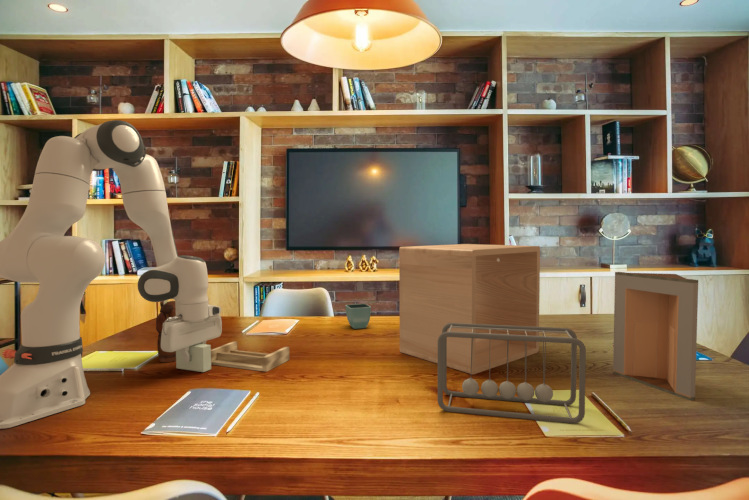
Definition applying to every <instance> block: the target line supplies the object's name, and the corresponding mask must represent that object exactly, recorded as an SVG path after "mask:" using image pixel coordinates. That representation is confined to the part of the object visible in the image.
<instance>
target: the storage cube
mask: <svg viewBox="0 0 749 500" xmlns="http://www.w3.org/2000/svg"><path fill="white" fill-rule="evenodd" d="M398 250H399V253H398V254H399V256H398V258H399V264H398V265H399V271H398V273H399V352H400V353H402V354H404V355H409V356H411V357H414V358H418V359H421V360H425V361H427V362H431V363H433V364H437V365H438V338H439V336H440V335H441V334H442V329H443V327H444V326H445V325H446V324H448V323H467V324H489V325H510V326H532V327H540V291H541V290H540V288H541V287H540V285H541V284H540V283H541V281H540V280H541V279H540V278H541V277H540V276H541V275H540V274H541V272H540V270H541V267H540V266H541V247H540V245H519V244H517V245H515V244H514V245H511V244H506V245H505V244H478V243H474V244H473V243H459V244H457V243H456V244H455V243H454V244H438V245H434V244H432V245H415V246H414V245H412V246H400V247H399V249H398ZM449 329H450V328H449ZM449 329H448V330H447V332H448V331H449ZM451 332H470V333H472V329H468V328H451ZM473 333H490V334H507V330H488V329H473ZM508 334H509V335H525V331H508ZM526 334H527V335H529V336H540V332H529V331H526ZM471 341H472V338H459V337H447V368H450V369H453V370H457V371H460V372H463V373H466V374H469V375H471V376H472V375H476V374H479V373H483V372H485V371H489V353H490V370H491V369H494V368H496V367H499V366H502V365H505V364H507V340H496V339H478V338H473V346H472V371H471ZM539 350H540V342H533V341H527V357H528V356H531V355H534V354H537V353H539V352H540V351H539ZM523 358H525V341H515V340H509V348H508V363H511V362H514V361H517V360H520V359H523Z"/></svg>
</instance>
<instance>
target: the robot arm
mask: <svg viewBox="0 0 749 500" xmlns="http://www.w3.org/2000/svg"><path fill="white" fill-rule="evenodd" d="M36 163H37V164H36V167H35V171H34V175H33V176H34V177H33V182H32V187H31V189H30V195H29V199H28V203H27V206H26V208H25V211H24V212H23V214H22V216H21V218H20V220H19V221H18V222H17V224H16V225H15V227H14V228H13V229H12V230H11V231H10V232H9V234H8V235H7V236H6V237H5V238H3V239H1V240H0V278H2V279H6V280H8V281H13V282H16V283H17V282H18V283H25V284H26V283H32V284H34V283H35V284H36V283H37V284H39V285H38V290H37V293H36V296H35V297H34V300H33V301H32V302H30V303H28V304H27V305H26V306H25V307H24V308H23V309H22V310H21V314H20V324H21V325H20V327H21V328H20V329H21V344H20V345H19V348H18V349H17V350H16V349H10V348H6V349H4V350H3V351H2V354H1V355H2V357H4V359H9V360H11V359H14V361H13V364H12V365H11V366H9V367H8V368H7V369H6V370H5V371H4V372H3V373H1V374H0V429H9V428H13V427H16V426H19V425H22V424H27V423H28V422H33V421H35V420H38V419H42V418H45V417H48V416H51V415H55V414H57V413H61V412H64V411H68V410H71V409H73V408H77V407H80V406H83V405H85V404H86V400H87V398H88V397H89V396H90V395H91V390H90V389H89V387H88V384H87V380H86V377H85V372H84V366H83V360H82V357H83V351H84V349H83V348H84V347H83V338H82V337H81V333H80V330H81V328H80V327H81V326H80V316H81V315H80V314H81V313H80V311H81V303H82V300H83V297H84V295H85V291H86V289H88V286H89V285H90V284H91V283H92V282H93V281H94V280H95V279H96V278H98V277H99V276H100V275H101V273H102V271H104V268H105V263H106V256H105V251H104V249H103V248H102V246H101V245H100V243H98V242H97V241H96V240H93V239H89V238H85V237H79V236H75V235H74V236H73V235H66V232H67V231H68V230H69V229H70V228H71V227H72V226H73V225H74V224H76V223H78V222H79V221H81V219H82V218H83V217H84V216H85V213H86V210H87V209H86V208H87V202H88V196H89V191H90V184H91V179H92V178H91V176H92V173H93V172H99V171H101V172H102V171H104V170H105V171H106V169H112V171H113V172H114V173H115V175H116V176H117V178H118V180H119V184H120V191H121V197H122V198H121V200H122V203H123V207H124V210H125V212H126V216H127V217H128V219H129V220H130V221H131V222H132V223H133V224H136V225H137V226H138V227H140V229H142V230H143V231H144V232H145V233H146V234H147V236H148V237H149V239H150V242H151V246H152V251H153V254H154V259H155V263H156V267H154V268H151V269H148V270H146V271H145V272H143V273H142V274H141V275H140V276H139V278H138V281H137V291H138V294H139V295H140V296H141V297H142V298H143V299H144V300H145V301H147V302H151V303H161V302H164V301H168V300H173V301H175V306H176V316H174V317H169V318H167V320H165V322H164V323H163V329H162V334H161V349H162V350H163V351H165V352H174V351H177V350H180V352H181V354H182V355H183V361H184V362H190V361H192V355H189V353H188V350H189V346H192V345H196V344H206V345H207V341H211V340H214V339H217V338H220V337H221V334H222V333H223V331H222V330H223V328H222V327H223V323H222V322H223V321H222V317H221V313H222V307H221V306H217V305H214V304H209V303H210V302H209V296H208V288H209V277H208V276H209V275H208V268H207V264H206V261H205V260H204V259H203V258H202V257H199V256H196V255H195V256H193V255H185V254H183V255H179V254H178V249H177V246H176V241H175V236H174V231H173V229H172V224H171V219H170V213H169V212H170V211H169V207H168V206H169V205H168V199H167V198H168V197H167V193H166V187H165V183H164V182H165V181H164V179H163V178H164V177H163V175H162V171H161V169H160V166H159V164H158V161H157V159H155V158H154V157H153V156H151V155H149V154H147V148H146V145H145V144H144V141H143V138H142V136H141V134H140V133H139V131H138V130H137V128H136V127H135V126H134V125H133V124H131V123H130V122H128V121H126V120H121V119H119V120H118V119H115V120H106V121H105V122H103V123H100V124H97V125H93V126H91V127H89V128H87V129H86V130H84V131H83V132H80V133H79V134H77V135H75V137H71V136H66V135H59V136H54V137H51V138H49V139H48V140H47V141H46V142H45V144H44V146H43V149H42V151H41V152H40V155H39V158H38V161H37V162H36ZM167 321H168V322H167Z"/></svg>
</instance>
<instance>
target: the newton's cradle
mask: <svg viewBox="0 0 749 500" xmlns="http://www.w3.org/2000/svg"><path fill="white" fill-rule="evenodd" d="M449 328H450V329H449ZM451 328H468V329H472V333H470V332H451ZM448 329H449V331H448V332H447V330H448ZM473 329H488V330H507V334H490V333H473ZM508 331H525V335H509V334H508ZM526 331H529V332H539V333H542V335H539V336H529V335H527V334H526ZM545 333H554V334H567V336H568V337H567V336H566V337H565V336H546V334H545ZM447 337H459V338H472V341H471V371H472V346H473V338H478V339H496V340H507V363H506V381H502V382H501V383H500V384H499V386H498V384H497V383H496V381H494V380H492V379H491V369H490V353H489V369H488V371H489V373H488V375H489V377H488V379H486V380H484V381H483V382H482V384H481V386H479V383H478V381H477V380H476V379H474V378H472V374H469V376H470V377H469V378H467V379H464V381H463V382H462V385H461V388H462V391H455V390H454V391H452V390H449V389H448V386H447V385H448V384H447V383H448V382H447V368H448V367H447ZM509 340H515V341H525V357H524V382H522V383H519V384H518V385H517V387H516V386H515V384H514V383H513V382H511V381H509V362H508V348H509ZM527 341H533V342H539V343H542V361H543V362H542V367H543V370H542V372H543V373H542V375H543V376H542V377H543V383H541V384H538V385H537V386H536V387H535V388H534V387H533V385H532V384H530V383H528V382H527V368H528V367H527V361H528V360H527V359H528V356H527ZM547 343H554V344H571V345H570V348H571V352H570V397H569V398H568V399H567V400H561V399H553V397H554V391H553V389H552V388H551V386H550V385H548V384H546V382H545V381H546V365H545V361H546V360H547V359H546V354H547V353H546V352H547ZM577 347H578V348H579V365H578V366H579V368H578V366H577V363H578V362H577V359H578V358H577V357H578V356H577V355H578V351H577V349H578V348H577ZM586 353H587V349H586V345H585V343H584V342H583V341H582V340H580V339H578V337H577V334H576V332H575V331H574V330H573V329H571V328H568V327H554V326H553V327H552V326H551V327H550V326H539V327H532V326H510V325H489V324H467V323H448V324H446V325H445V326H444V327H443V329H442V334H441V335H440V336H439V338H438V364H437V404H438V406H439V408H440V409H442V410H443V411H444V412H448V413H459V414H466V415H467V414H469V415H470V414H471V415H479V416H490V417H500V418H511V419H522V420H534V421H540V422H541V421H542V422H551V423H563V424H572V425H573V424H574V425H575V424H578V423H580V422H582V421H583V420H584V418H585V414H586V412H585V411H586V369H587V367H586V364H587V363H586V362H587V361H586V360H587V359H586V357H587V354H586ZM577 368H578V369H579V373H578V374H579V376H578V377H579V379H578V382H579V383H578V414H577V416H575V417H572V415H571V413H570V410H569V408H568V407H570V406H571V405H573V403H575V401H576V399H577ZM480 388H481V389H480ZM479 390H481V393H479ZM498 392H499V394H498ZM443 393H444V394H446V395H447V396H449V399H448V405H446V404H445V403H444V399H443V398H444V397H443V396H444V395H443ZM516 394H517V396H516ZM452 397H458V398H459V397H460V398H472V399H481V400H492V401H504V402H505V401H506V402H516V403H518V402H519V403H525V404H526V403H527V404H528V403H530V404H538V405H539V404H540V405H552V406H560V407H561V406H563V407H565V409H566V412H567V414H568V416H566V417H565V416H555V415H547V414H546V415H545V414H538V413H537V414H535V413H534V414H533V413H525V412H524V413H523V412H515V411H514V412H511V411H502V410H501V411H500V410H492V409H491V410H490V409H482V408H473V407H471V408H469V407H459V406H451V403H452V402H451V401H452Z"/></svg>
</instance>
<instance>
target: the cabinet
mask: <svg viewBox="0 0 749 500" xmlns="http://www.w3.org/2000/svg"><path fill="white" fill-rule="evenodd" d="M613 300H614V302H613V303H614V305H613V306H614V307H613V308H614V309H613V310H614V311H613V313H614V315H613V316H614V317H613V350H612V351H613V353H612V354H613V355H612V356H613V357H612V358H613V359H612V361H613V363H612V373H613V374H614V375H617V376H620V377H623V378H625V379H628V380H631V381H634V382H636V383H639V384H642V385H645V386H647V387H650V388H654V389H657V390H660V391H662V392H665V393H668V394H671V395H673V396H676V397H680V398H682V399H685V400H688V401H694V400H695V399H696V379H697V378H696V375H697V374H696V372H697V369H696V367H697V345H698V344H697V340H698V339H697V334H698V309H699V308H698V304H699V279H692V278H687V277H683V276H681V275H679V274H676V273H652V272H624V271H615V272H614V299H613Z"/></svg>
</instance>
